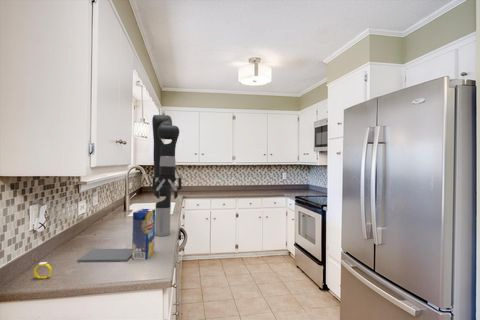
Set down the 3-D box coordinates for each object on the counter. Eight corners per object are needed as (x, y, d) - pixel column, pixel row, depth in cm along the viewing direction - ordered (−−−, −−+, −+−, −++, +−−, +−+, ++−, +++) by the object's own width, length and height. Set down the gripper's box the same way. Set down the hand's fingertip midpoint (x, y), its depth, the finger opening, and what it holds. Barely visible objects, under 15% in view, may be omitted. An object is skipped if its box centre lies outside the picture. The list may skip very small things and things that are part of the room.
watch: (32, 280, 108) (31, 265, 108) (37, 277, 111) (36, 262, 111) (49, 278, 109) (48, 263, 109) (53, 275, 112) (52, 261, 112)
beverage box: (154, 252, 143) (155, 209, 143) (146, 259, 132) (147, 213, 132) (141, 251, 144) (142, 208, 144) (131, 259, 133) (133, 212, 133)
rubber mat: (92, 250, 143) (92, 248, 143) (136, 250, 145) (137, 248, 145) (77, 262, 127) (77, 259, 127) (127, 261, 129) (127, 259, 129)
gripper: (183, 165, 143) (182, 197, 143) (154, 165, 142) (153, 197, 142) (181, 165, 136) (180, 199, 135) (151, 165, 134) (150, 199, 134)
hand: (166, 198), depth 139 cm, fingers open, 7 cm apart
